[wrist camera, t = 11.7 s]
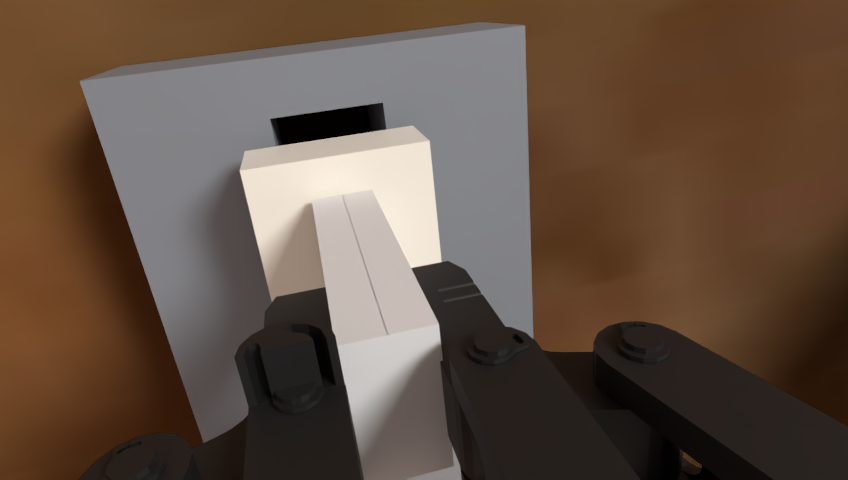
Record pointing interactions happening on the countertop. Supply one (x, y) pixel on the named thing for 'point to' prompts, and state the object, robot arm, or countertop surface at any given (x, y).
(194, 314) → the key strip
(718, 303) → the countertop surface
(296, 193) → the key
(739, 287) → the countertop surface
